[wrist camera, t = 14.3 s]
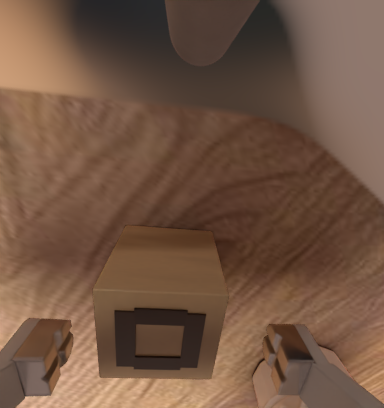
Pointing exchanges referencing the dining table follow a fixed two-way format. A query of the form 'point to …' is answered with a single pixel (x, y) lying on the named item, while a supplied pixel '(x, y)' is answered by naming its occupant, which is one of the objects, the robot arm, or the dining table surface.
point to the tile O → (160, 305)
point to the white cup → (266, 393)
